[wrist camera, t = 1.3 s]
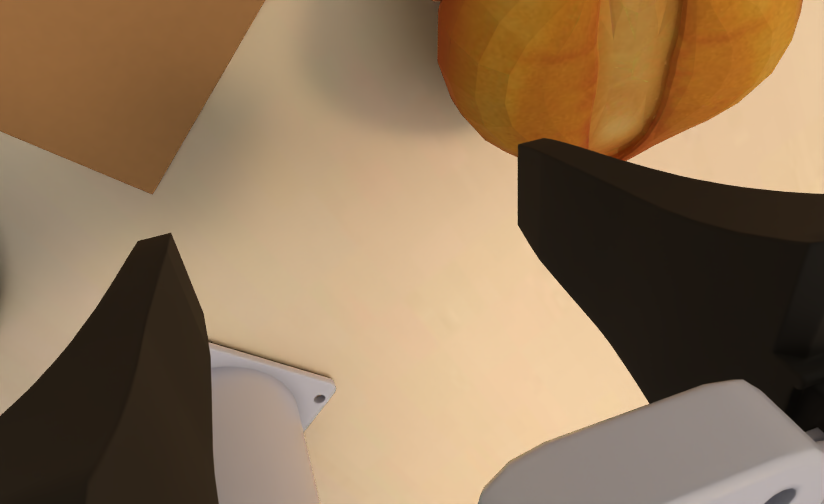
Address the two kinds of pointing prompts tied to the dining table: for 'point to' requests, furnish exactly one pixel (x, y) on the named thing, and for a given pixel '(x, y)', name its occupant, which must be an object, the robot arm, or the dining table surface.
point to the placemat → (114, 77)
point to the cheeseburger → (605, 66)
